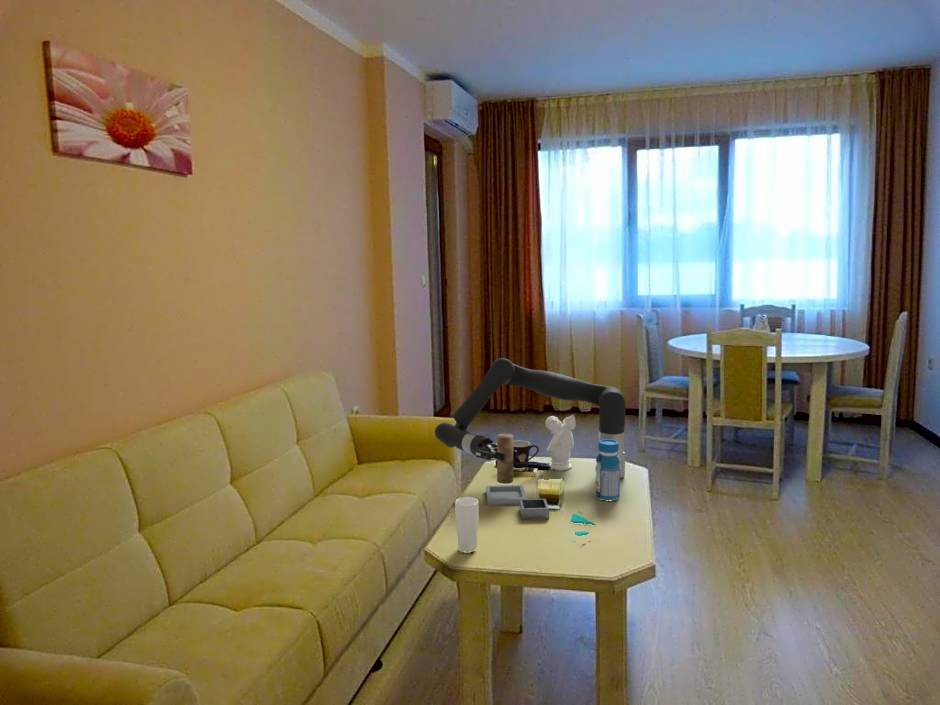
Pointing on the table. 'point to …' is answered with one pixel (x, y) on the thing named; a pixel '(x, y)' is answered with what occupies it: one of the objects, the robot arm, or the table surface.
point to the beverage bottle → (608, 470)
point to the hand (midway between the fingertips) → (510, 456)
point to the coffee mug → (522, 453)
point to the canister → (507, 465)
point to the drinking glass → (467, 522)
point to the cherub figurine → (561, 441)
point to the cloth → (580, 519)
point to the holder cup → (533, 509)
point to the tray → (505, 494)
